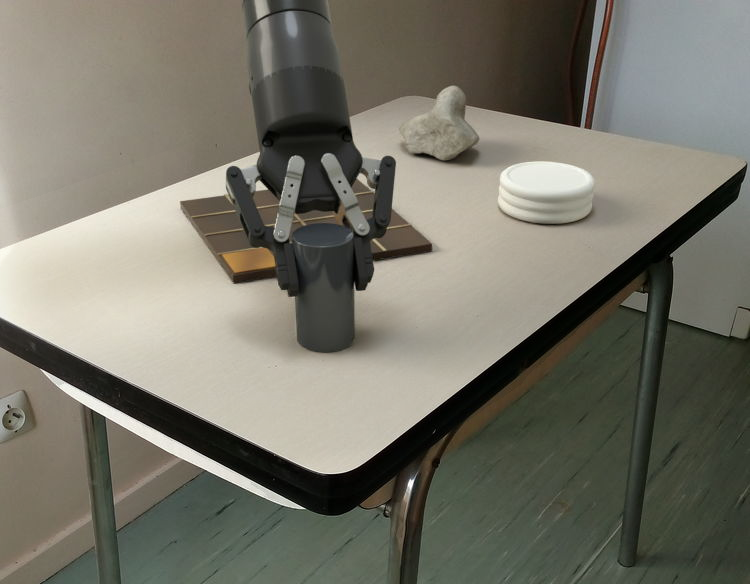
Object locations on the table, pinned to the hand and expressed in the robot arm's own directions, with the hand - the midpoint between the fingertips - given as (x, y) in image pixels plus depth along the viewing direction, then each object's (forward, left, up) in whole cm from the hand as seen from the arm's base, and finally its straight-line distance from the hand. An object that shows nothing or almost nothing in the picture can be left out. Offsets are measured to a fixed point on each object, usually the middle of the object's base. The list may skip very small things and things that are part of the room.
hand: (328, 289), depth 79 cm
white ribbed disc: (+32, +21, -5) cm, 39 cm away
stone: (+28, +41, -5) cm, 50 cm away
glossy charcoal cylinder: (0, +2, -5) cm, 5 cm away
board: (+6, +25, -5) cm, 26 cm away
